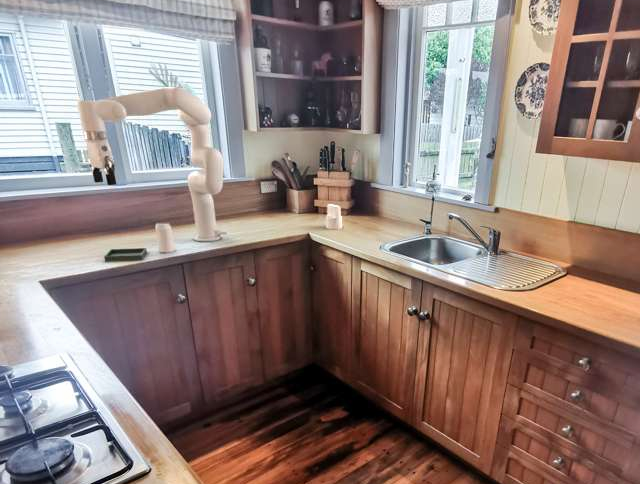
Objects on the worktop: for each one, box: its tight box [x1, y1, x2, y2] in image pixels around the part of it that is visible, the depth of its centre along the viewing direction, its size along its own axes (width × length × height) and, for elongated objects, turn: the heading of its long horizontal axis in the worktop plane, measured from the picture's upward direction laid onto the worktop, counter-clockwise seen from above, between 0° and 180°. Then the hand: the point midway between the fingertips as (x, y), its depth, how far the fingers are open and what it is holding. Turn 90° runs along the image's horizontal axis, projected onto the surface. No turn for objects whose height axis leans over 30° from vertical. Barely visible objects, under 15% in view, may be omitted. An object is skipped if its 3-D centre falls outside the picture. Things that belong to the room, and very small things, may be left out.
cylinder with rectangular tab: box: [325, 203, 343, 230], centre depth 256 cm, size 9×9×12 cm
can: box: [154, 222, 176, 254], centre depth 204 cm, size 6×6×12 cm
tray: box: [104, 247, 148, 262], centre depth 197 cm, size 14×11×2 cm
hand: (105, 183), depth 183 cm, fingers open, 9 cm apart
